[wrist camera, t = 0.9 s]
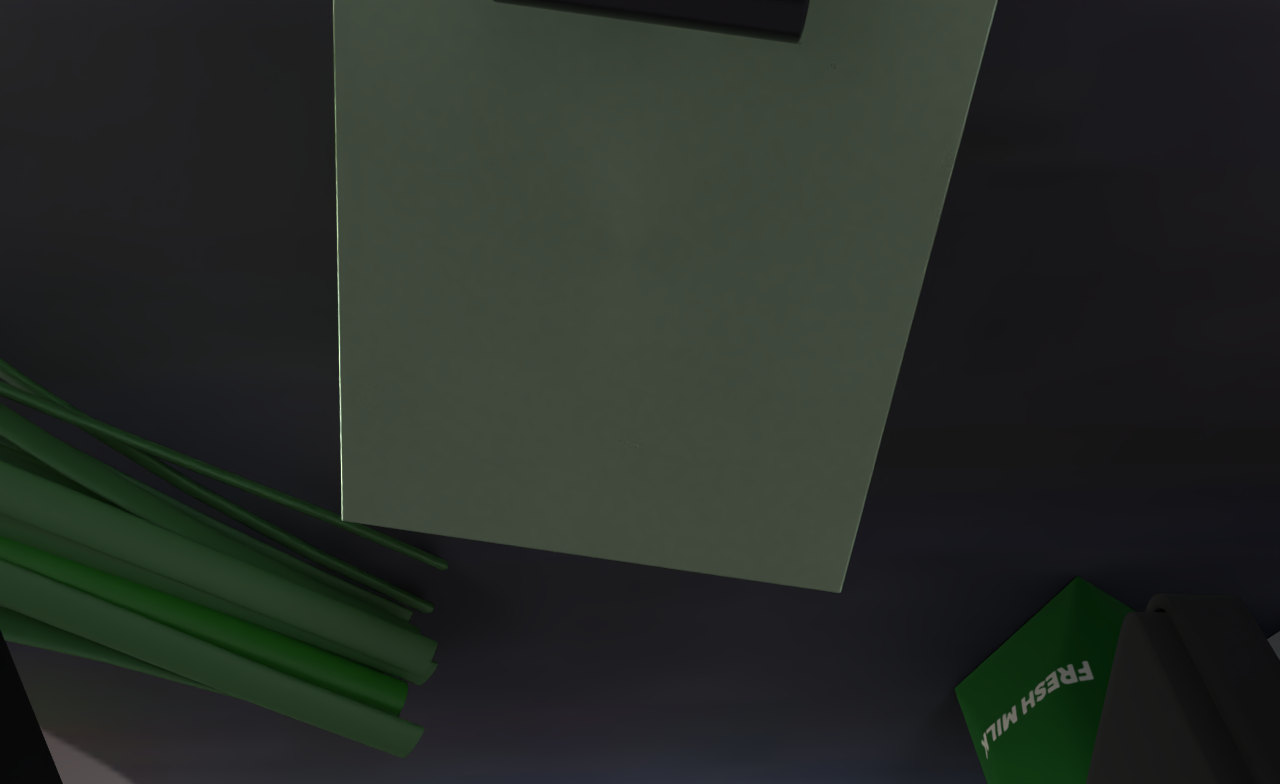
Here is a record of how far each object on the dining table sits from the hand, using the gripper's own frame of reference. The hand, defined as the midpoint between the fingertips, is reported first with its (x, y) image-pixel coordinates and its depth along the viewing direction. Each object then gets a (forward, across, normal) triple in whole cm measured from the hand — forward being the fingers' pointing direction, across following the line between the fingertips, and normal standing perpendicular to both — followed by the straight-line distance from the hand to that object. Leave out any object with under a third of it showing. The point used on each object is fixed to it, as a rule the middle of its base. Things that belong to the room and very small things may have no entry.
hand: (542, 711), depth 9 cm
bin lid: (+16, +1, +2) cm, 16 cm away
